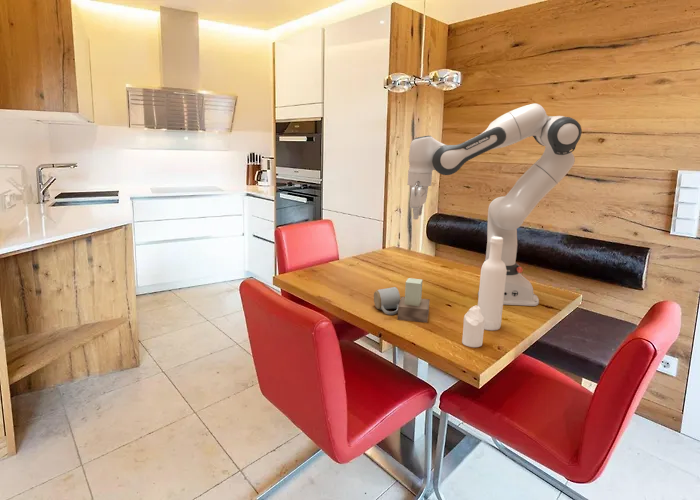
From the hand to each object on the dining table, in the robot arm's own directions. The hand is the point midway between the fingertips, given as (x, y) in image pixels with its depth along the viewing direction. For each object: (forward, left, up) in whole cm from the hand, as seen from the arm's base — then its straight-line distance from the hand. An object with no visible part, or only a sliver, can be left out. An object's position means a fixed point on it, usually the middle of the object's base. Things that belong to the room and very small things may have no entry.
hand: (417, 217), depth 163 cm
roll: (-23, +38, -31) cm, 54 cm away
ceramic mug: (+6, +19, -31) cm, 37 cm away
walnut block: (-3, +22, -32) cm, 38 cm away
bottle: (-28, +23, -31) cm, 48 cm away
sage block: (-3, +22, -26) cm, 35 cm away
